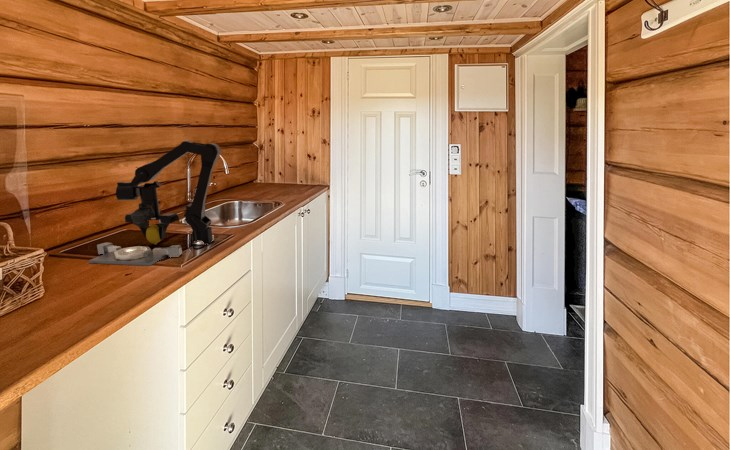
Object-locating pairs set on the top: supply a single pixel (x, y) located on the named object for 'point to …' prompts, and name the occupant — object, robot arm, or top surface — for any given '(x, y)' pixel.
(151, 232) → the lemon
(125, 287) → the top surface
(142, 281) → the top surface
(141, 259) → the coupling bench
